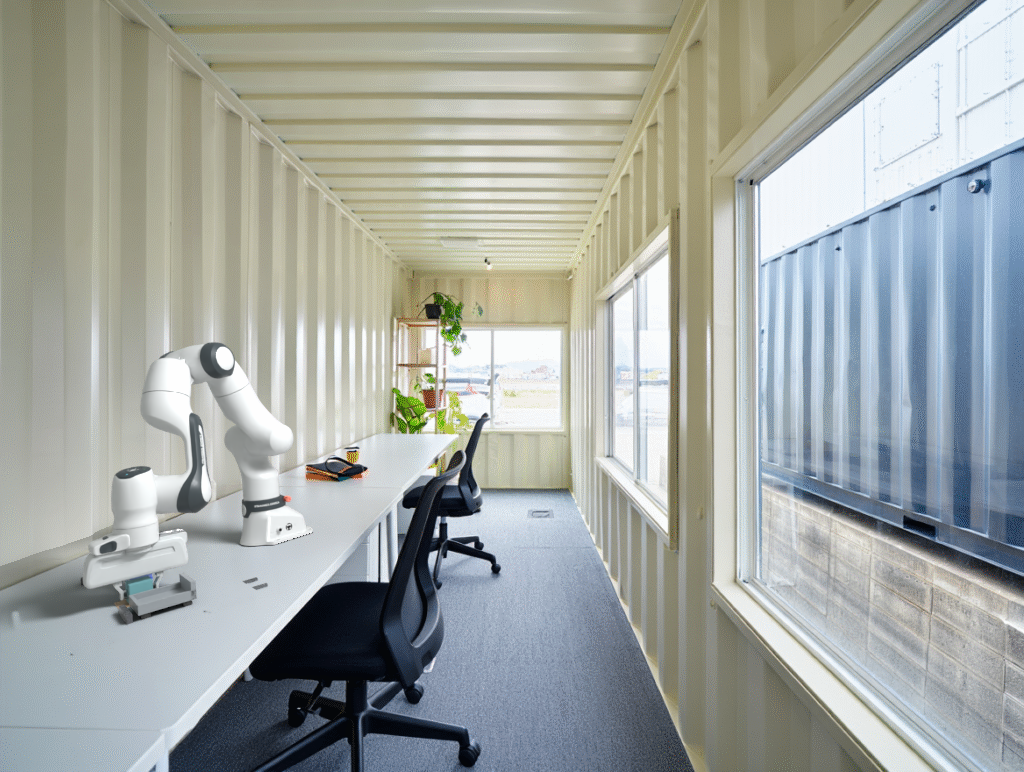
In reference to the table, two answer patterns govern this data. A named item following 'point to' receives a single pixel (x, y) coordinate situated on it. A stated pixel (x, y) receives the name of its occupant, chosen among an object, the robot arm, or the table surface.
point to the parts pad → (122, 603)
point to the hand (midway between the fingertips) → (139, 594)
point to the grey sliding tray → (164, 596)
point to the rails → (127, 614)
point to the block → (138, 585)
